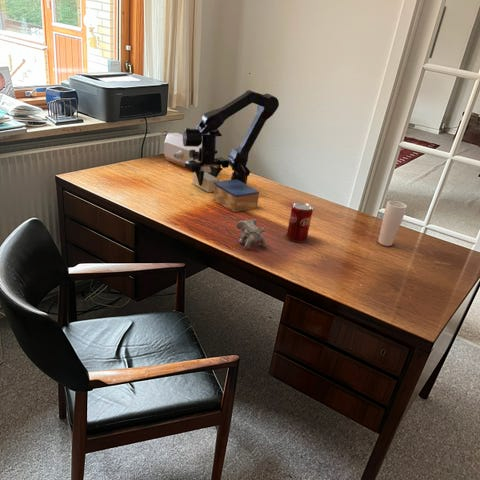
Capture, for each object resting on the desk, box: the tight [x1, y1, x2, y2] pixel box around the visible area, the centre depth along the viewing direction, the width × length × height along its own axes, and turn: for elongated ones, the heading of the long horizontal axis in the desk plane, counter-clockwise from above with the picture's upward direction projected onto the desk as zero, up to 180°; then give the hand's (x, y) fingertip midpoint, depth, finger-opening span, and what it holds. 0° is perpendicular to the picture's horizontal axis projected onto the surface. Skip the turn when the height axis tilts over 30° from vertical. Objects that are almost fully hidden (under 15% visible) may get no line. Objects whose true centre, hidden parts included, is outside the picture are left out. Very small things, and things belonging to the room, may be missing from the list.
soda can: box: [286, 201, 314, 243], centre depth 165 cm, size 7×7×12 cm
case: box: [192, 172, 220, 193], centre depth 200 cm, size 11×5×5 cm, turn 40°
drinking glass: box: [377, 200, 408, 247], centre depth 169 cm, size 7×7×15 cm
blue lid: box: [214, 179, 260, 197], centre depth 186 cm, size 14×12×1 cm
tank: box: [163, 132, 217, 174], centre depth 218 cm, size 25×16×12 cm, turn 52°
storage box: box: [212, 186, 260, 213], centre depth 188 cm, size 14×12×6 cm
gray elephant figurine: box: [236, 218, 266, 250], centre depth 158 cm, size 9×12×8 cm
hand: (205, 184), depth 201 cm, fingers closed on case, 5 cm apart
